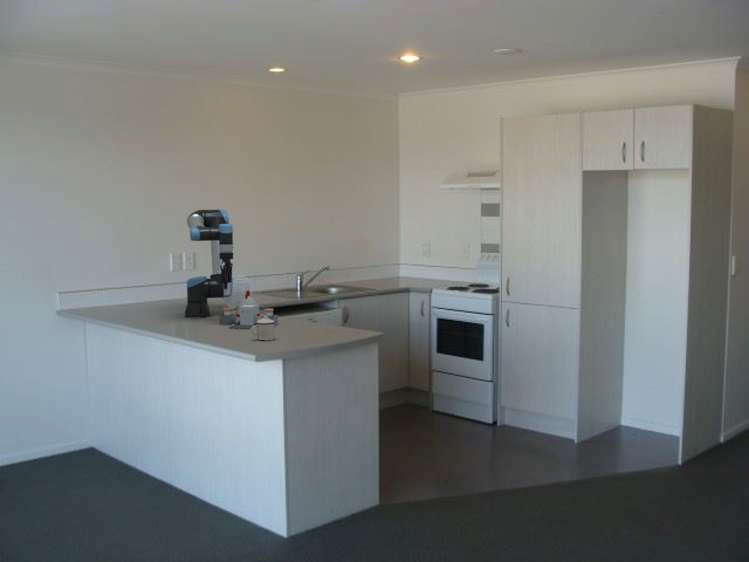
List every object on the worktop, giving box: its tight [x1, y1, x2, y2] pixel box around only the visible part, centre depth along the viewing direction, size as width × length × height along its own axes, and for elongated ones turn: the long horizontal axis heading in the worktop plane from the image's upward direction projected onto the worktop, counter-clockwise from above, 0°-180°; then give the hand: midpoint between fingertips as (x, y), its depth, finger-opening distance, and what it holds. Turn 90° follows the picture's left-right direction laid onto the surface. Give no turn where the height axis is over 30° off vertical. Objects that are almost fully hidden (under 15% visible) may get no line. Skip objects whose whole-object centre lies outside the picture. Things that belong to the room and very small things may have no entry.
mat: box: [228, 324, 255, 330], centre depth 439 cm, size 9×12×1 cm
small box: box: [239, 305, 258, 325], centre depth 449 cm, size 8×6×10 cm
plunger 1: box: [222, 307, 233, 316], centre depth 451 cm, size 5×5×6 cm
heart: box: [222, 273, 251, 310], centre depth 510 cm, size 28×16×22 cm, turn 38°
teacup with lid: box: [250, 315, 276, 341], centre depth 401 cm, size 12×9×12 cm
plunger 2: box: [264, 308, 274, 317], centre depth 447 cm, size 5×5×6 cm
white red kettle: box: [235, 290, 261, 318], centre depth 482 cm, size 14×14×15 cm
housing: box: [218, 313, 279, 326], centre depth 449 cm, size 12×31×5 cm, turn 80°
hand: (227, 294), depth 450 cm, fingers open, 2 cm apart
